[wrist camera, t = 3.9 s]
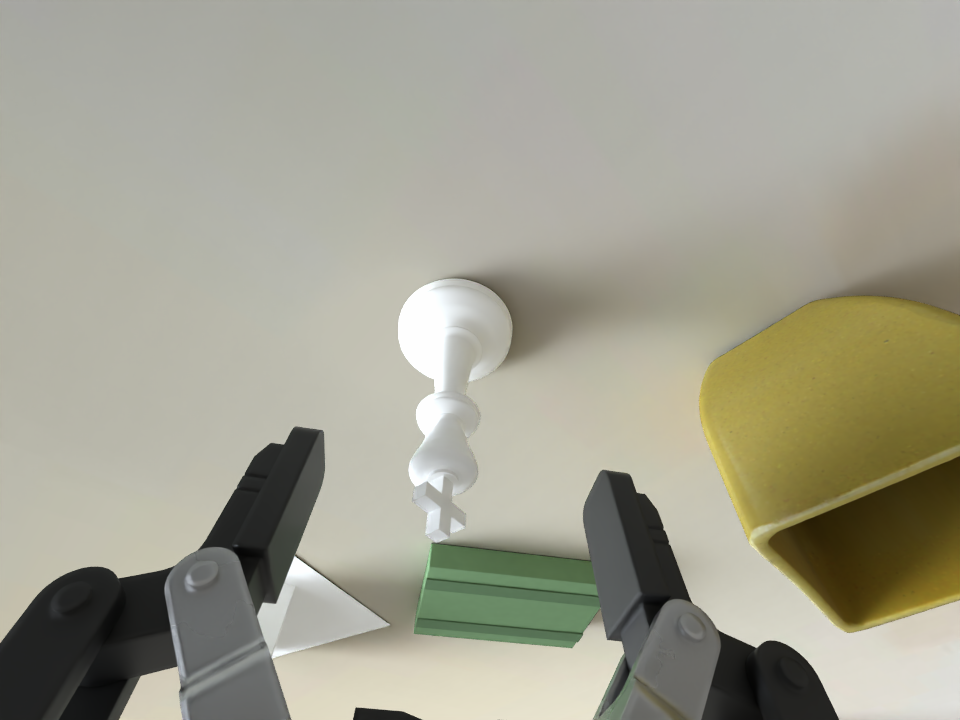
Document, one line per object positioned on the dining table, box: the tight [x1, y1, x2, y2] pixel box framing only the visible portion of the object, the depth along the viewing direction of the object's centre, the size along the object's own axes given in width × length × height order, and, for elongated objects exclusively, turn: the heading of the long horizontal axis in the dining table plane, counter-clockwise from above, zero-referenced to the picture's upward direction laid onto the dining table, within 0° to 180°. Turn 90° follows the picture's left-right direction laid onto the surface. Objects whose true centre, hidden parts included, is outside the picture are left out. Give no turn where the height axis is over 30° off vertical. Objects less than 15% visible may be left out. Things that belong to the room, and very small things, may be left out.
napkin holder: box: [257, 556, 390, 658], centre depth 32 cm, size 15×11×6 cm
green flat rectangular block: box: [414, 543, 600, 648], centre depth 31 cm, size 12×9×2 cm
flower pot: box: [699, 296, 960, 633], centre depth 17 cm, size 9×9×9 cm
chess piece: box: [399, 279, 513, 543], centre depth 15 cm, size 5×5×10 cm
